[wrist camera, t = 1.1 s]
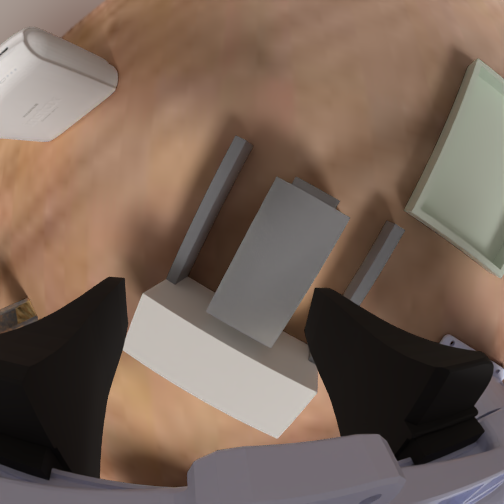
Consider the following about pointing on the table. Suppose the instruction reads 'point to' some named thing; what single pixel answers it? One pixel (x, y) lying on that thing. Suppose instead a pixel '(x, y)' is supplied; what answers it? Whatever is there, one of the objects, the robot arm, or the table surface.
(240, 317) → the grey rectangular block
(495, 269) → the tray
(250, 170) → the table surface
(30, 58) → the photo printer
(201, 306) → the printer bay
